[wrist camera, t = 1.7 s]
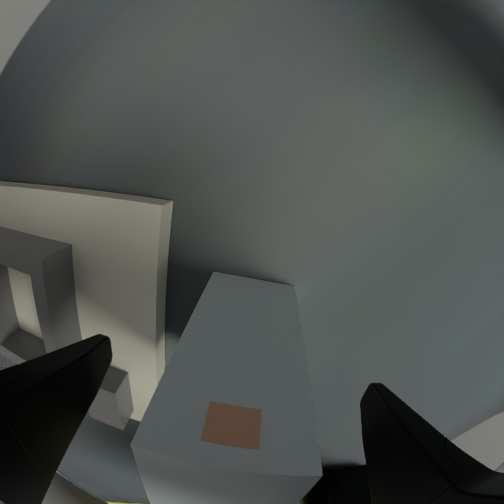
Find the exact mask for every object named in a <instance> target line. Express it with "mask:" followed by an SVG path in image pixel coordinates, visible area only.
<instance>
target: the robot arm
mask: <svg viewBox="0 0 504 504" xmlns="http://www.w3.org/2000/svg"><path fill="white" fill-rule="evenodd" d="M112 356H113V355H112V347H111V340H110V338H109V337H108V336H105V335H102V334H97V335H94V336H91V337H89V338H86V339H84V340H81V341H79V342H76V343H73V344H71V345H68V346H66V347H63V348H60V349H58V350H55V351H52V352H50V353H47V354H44V355H42V356H39V357H36V358H34V359H31V360H28V361H26V362H23V363H21V364H17V365H15V366H12V367H9V368H6V369H3V370H0V504H41V503H42V501H43V499H44V497H45V494H46V492H47V490H48V488H49V486H50V484H51V481H52V479H53V477H54V475H55V473H56V471H57V469H58V467H59V465H60V463H61V461H62V459H63V457H64V455H65V453H66V451H67V449H68V447H69V445H70V443H71V441H72V439H73V437H74V435H75V434H76V432H77V430H78V428H79V426H80V424H81V422H82V421H83V419H84V417H85V415H86V413H87V412H88V410H89V408H90V406H91V404H92V403H93V401H94V399H95V397H96V395H97V393H98V391H99V389H100V387H101V384H102V382H103V380H104V377H105V375H106V373H107V370H108V368H109V366H110V364H111V361H112ZM360 409H361V424H362V440H363V446H364V453H365V459H366V465H367V467H365V468H353V469H331V470H322V474H323V476H322V477H321V478H320V479H319V481H318V482H317V483H316V484H315V485H314V486H313V487H312V488H311V490H310V491H309V492H308V493H307V494H306V495H305V496H304V497H303V498H302V499H301V500H300V501H299V502H298V503H299V504H504V473H499V472H495V471H493V470H491V469H489V468H488V467H486V466H485V465H483V464H482V463H480V462H478V461H477V460H475V459H474V458H472V457H471V456H469V455H468V454H467V453H465V452H464V451H462V450H461V449H460V448H458V447H457V446H456V445H455V444H453V443H452V442H451V441H450V440H448V439H447V438H446V437H444V435H442V434H441V433H440V432H439V431H438V430H436V429H435V428H434V427H433V426H432V425H430V424H429V423H428V422H427V421H426V420H424V419H423V418H422V417H421V416H420V415H418V414H417V413H416V412H415V411H414V410H413V409H411V408H410V407H409V406H408V405H407V404H406V403H404V402H403V401H402V400H401V399H400V398H398V397H397V396H396V395H395V394H394V393H393V392H391V391H390V390H389V389H388V388H387V387H386V386H384V385H383V384H382V383H371V384H370V385H369V386H368V388H367V390H366V391H365V393H364V395H363V397H362V399H361V402H360Z"/></svg>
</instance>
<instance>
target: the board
mask: <svg viewBox="0 0 504 504" xmlns="http://www.w3.org/2000/svg"><path fill="white" fill-rule="evenodd" d="M172 210H173V201H171V200H164V199H157V198H150V197H143V196H136V195H128V194H121V193H113V192H105V191H96V190H88V189H79V188H70V187H61V186H51V185H40V184H29V183H17V182H4V181H1V182H0V353H1V354H2V355H3V356H5V357H7V358H8V359H10V360H11V361H13V362H14V363H16V364H21V363H23V362H26V361H28V360H31V359H34V358H36V357H39V356H42V355H44V354H47V353H50V352H52V351H55V350H58V349H60V348H63V347H66V346H68V345H71V344H73V343H76V342H79V341H81V340H84V339H86V338H89V337H91V336H94V335H97V334H102V335H105V336H108V337H109V338H110V340H111V347H112V355H113V356H112V361H111V364H110V366H109V368H108V370H107V373H106V375H105V377H104V380H103V382H102V384H101V387H100V389H99V391H98V393H97V395H96V397H95V399H94V401H93V403H92V404H91V406H90V408H89V410H88V412H89V414H90V417H91V418H94V419H96V420H98V421H101V422H103V423H105V424H108V425H111V426H113V427H116V428H118V429H121V430H124V429H125V427H126V425H127V423H128V421H129V419H130V418H131V419H134V420H137V421H140V422H141V420H142V418H143V416H144V413H145V411H146V409H147V407H148V405H149V403H150V401H151V398H152V396H153V394H154V392H155V390H156V388H157V386H158V383H159V381H160V379H161V377H162V375H163V373H164V371H165V305H166V283H167V266H168V252H169V240H170V229H171V219H172Z"/></svg>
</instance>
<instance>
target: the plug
mask: <svg viewBox="0 0 504 504" xmlns="http://www.w3.org/2000/svg"><path fill="white" fill-rule="evenodd" d="M130 445H131V448H132V452H133V455H134V458H135V462H136V465H137V468H138V471H139V474H140V477H141V480H142V483H143V485H144V488H145V491H146V494H147V496H148V499H149V501H150V504H297V503H298V502H299V501H300V500H301V499H302V498H303V497H304V496H305V495H306V494H307V493H308V492H309V491H310V490H311V488H312V487H313V486H314V485H315V484H316V483H317V482H318V481H319V479H320V478H321V477H322V476H323V474H322V465H321V457H320V449H319V441H318V433H317V425H316V418H315V411H314V404H313V397H312V390H311V383H310V377H309V370H308V364H307V357H306V351H305V345H304V339H303V333H302V327H301V321H300V316H299V310H298V304H297V299H296V293H295V288H294V286H292V285H286V284H280V283H275V282H269V281H263V280H258V279H252V278H247V277H241V276H236V275H230V274H225V273H220V272H215V271H214V272H213V274H212V276H211V278H210V280H209V281H208V283H207V285H206V287H205V289H204V291H203V293H202V295H201V297H200V299H199V301H198V303H197V305H196V307H195V309H194V311H193V313H192V315H191V317H190V319H189V321H188V323H187V325H186V327H185V330H184V332H183V334H182V336H181V338H180V340H179V342H178V344H177V346H176V348H175V350H174V352H173V354H172V356H171V358H170V360H169V362H168V365H167V367H166V369H165V371H164V373H163V375H162V377H161V379H160V381H159V383H158V386H157V388H156V390H155V392H154V394H153V396H152V398H151V401H150V403H149V405H148V407H147V409H146V411H145V413H144V416H143V418H142V420H141V422H140V424H139V427H138V429H137V431H136V433H135V435H134V438H133V440H132V442H131V444H130Z"/></svg>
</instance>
